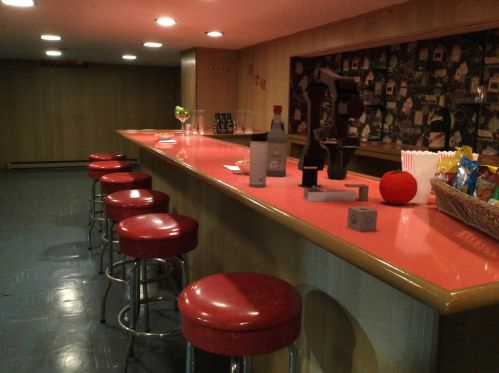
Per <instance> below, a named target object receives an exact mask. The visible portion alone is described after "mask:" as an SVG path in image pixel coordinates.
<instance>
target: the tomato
mask: <svg viewBox="0 0 499 373" xmlns="http://www.w3.org/2000/svg"><path fill="white" fill-rule="evenodd" d="M413 176H414V175H413V174H412V173H410V172H408V171H405V170H401V168H399V169H397V170H389V171H387V172H386V173H384V174H383V175H382V176H381V178H380V180H379V183H378V190H379V194H380V196H381V198H382V200H384V202H386V203H389V204H394V205H397V204H398V205H400V204H401V205H402V204H407V203H410V202H411V201H412V200H414V198H415V197H416V196H417V194H418V181H417V178H415V177H413Z"/></svg>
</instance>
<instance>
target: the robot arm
mask: <svg viewBox="0 0 499 373" xmlns="http://www.w3.org/2000/svg"><path fill="white" fill-rule="evenodd" d="M301 87H302V91H303V98H304V100H305V101H306V104H307V119H306V120H307V122H306V124H307V126H306V144H305V145H304V147H303V149H302V151H301V152H302V153H301V156H300V158H299V160H298V163H297V169H298V170H299V171H302V173H301V174H302V175H301V183H299V184H297V186H298V187H303V188H308V189H311V188H312V186H318V188H319V187H321V186H322V185H321V184H318V181H319V180H318V179H319V178H318V177H319V172H320V171H321V172H323V171H324V168H325V163H326V155H325V154H326V153H325V148H326V151H327V154H328V161H329V160H330V164H331V165H334V163H335V160H336V158H337V155H338V152H339V150H340V151H341V165H342V168H346V167H347V166H348V164H349V163H350V160H351V159H352V157H353V155H354V154H355V152H356V151H357V150H358V149H359V147H361V142H362V141H361V139H360V137H358V136H352V134H351V133H350V134H349V130H350V126H351V125H353V121H351V119H355V120H356V119H360V118H361V117H362V116H363V114H364V113H365V110H366V109H365V108H366V107H365V105H364V103H363V101H362V100H361V93H360V90H359V88H358V84H357V82H356V79H355V78H354V77H352V76H351V77H349V76H341V75H339V74H338V73H335V71H332V70H331V69H330V68H328V67H327V68H326V67H325V68H324V67H318V68H315V69H314V71H313V72H312V73H310V74H309V75H307V76H306V77H305V78H304V80H303V82H302V86H301ZM328 90H329V91H328ZM327 91H328V92H330V94H331V95H332V97H333V98H332V99H331V100H330V101H331V103H332V111H331V119H330V120H329V121H328V123H327V124H328V125H325V126H322V127H321V111H322V110H321V109H322V108H321V107H322V102H323V101H324V99H325V98H326V94H327ZM321 144H322V145H323V146H324V147H325V148H324V147H323V146H322V145H321Z"/></svg>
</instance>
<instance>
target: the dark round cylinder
mask: <svg viewBox="0 0 499 373" xmlns="http://www.w3.org/2000/svg"><path fill="white" fill-rule="evenodd" d="M310 189H311V192H318V189H319V187H318V186H312V188H310Z"/></svg>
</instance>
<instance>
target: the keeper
mask: <svg viewBox="0 0 499 373" xmlns="http://www.w3.org/2000/svg"><path fill="white" fill-rule="evenodd" d="M344 187H347V188H358V197H357V199H358V200H359V201H362V202H369V199H368V198H369V187H370V186H369V185H368V184H365V183H344Z"/></svg>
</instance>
